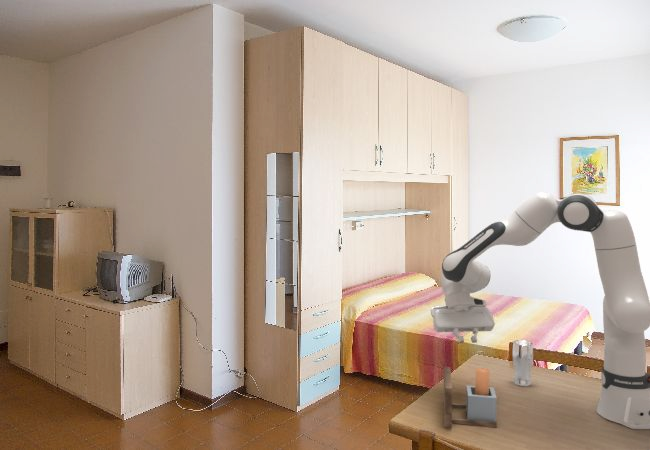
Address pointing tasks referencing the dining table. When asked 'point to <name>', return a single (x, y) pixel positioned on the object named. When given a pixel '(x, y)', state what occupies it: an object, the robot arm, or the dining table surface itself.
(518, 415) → the dining table surface
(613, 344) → the robot arm
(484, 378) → the dowel
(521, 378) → the beer glass
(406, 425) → the dining table surface
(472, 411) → the socket block
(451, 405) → the backstop wall
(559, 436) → the dining table surface
